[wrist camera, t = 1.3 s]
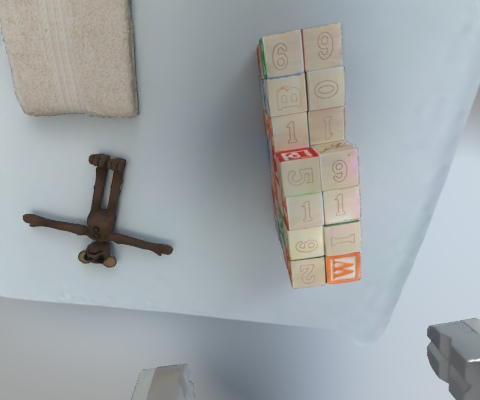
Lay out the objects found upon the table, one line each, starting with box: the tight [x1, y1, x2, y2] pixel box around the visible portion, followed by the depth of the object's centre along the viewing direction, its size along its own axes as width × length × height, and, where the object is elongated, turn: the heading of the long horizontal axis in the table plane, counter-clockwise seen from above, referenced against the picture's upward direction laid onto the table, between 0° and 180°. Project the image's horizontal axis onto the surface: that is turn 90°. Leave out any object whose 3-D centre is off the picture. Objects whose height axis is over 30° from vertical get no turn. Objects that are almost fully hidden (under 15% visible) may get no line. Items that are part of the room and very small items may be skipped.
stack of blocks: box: [257, 22, 361, 289], centre depth 30 cm, size 21×6×12 cm, turn 8°
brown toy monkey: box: [23, 154, 173, 268], centre depth 37 cm, size 18×4×14 cm
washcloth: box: [0, 0, 139, 118], centre depth 29 cm, size 12×18×3 cm, turn 178°
